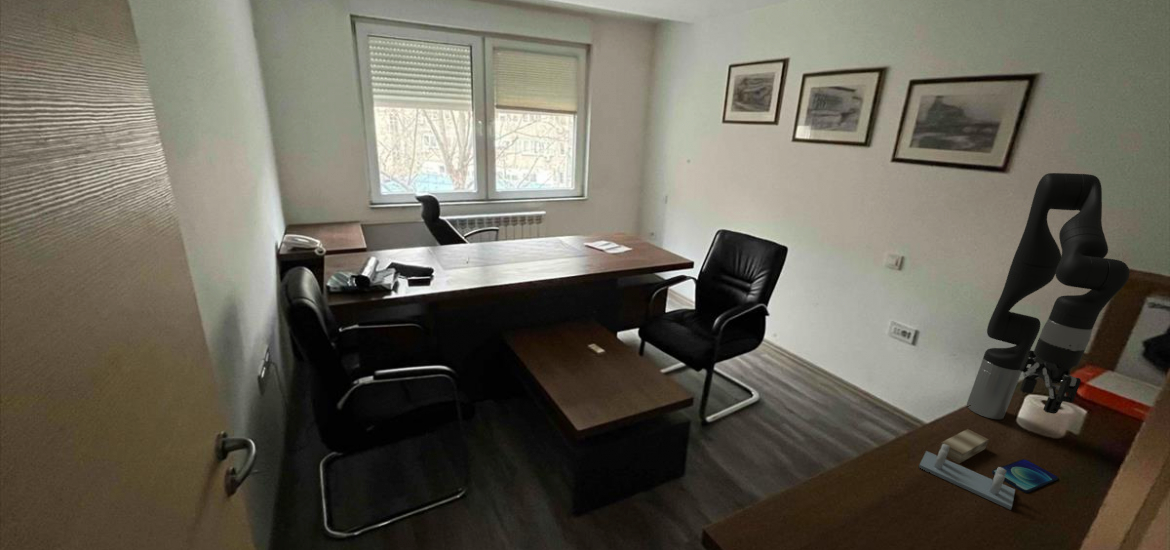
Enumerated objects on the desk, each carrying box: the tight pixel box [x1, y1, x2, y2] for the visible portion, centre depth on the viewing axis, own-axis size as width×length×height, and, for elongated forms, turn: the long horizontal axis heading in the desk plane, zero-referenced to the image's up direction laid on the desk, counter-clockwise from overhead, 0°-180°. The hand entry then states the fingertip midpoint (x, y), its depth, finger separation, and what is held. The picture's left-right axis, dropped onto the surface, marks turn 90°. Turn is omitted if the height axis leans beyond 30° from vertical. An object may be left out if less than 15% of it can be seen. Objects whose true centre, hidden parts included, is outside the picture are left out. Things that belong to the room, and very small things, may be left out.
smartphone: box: [991, 458, 1059, 494], centre depth 116 cm, size 8×1×15 cm
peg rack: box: [918, 444, 1016, 511], centre depth 113 cm, size 18×8×6 cm, turn 44°
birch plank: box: [937, 428, 990, 465], centre depth 124 cm, size 14×5×4 cm, turn 117°
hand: (1037, 401), depth 108 cm, fingers open, 8 cm apart
